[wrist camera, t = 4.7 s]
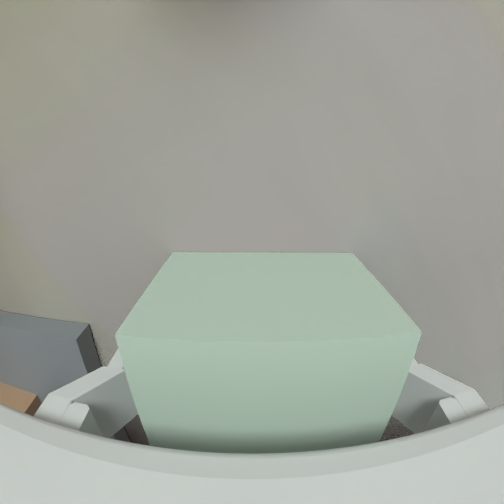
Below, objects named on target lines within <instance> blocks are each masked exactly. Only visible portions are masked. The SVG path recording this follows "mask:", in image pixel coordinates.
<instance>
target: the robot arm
mask: <svg viewBox="0 0 504 504" xmlns="http://www.w3.org/2000/svg"><path fill="white" fill-rule="evenodd" d="M137 415H138V412H137V409H136V406H135V403H134V400H133V397H132V394H131V391H130V387H129V384H128V381H127V378H126V374H125V371H124V367H123V364H122V360H121V356H120V353H119V349H117V351H116V352H115V354H114V356H113V357H112V359H111V361H110V362H109V364H108V366H107V367H106V366H102V367H100V368H98V369H97V370H95V371H93V372H91V373H89V374H87V375H85V376H83V377H81V378H79V379H77V380H75V381H73V382H71V383H69V384H67V385H65V386H63V387H61V388H59V389H57V390H55V391H53V392H51V393H49V394H48V395H47V397H46V398H45V400H44V401H43V403H42V404H41V406H40V407H39V409H38V410H37V412H36V413H35V415H34V416H31V415H29V414H26V413H23V412H21V411H18V410H16V409H13V408H11V407H9V406H6V405H4V404H1V403H0V504H504V404H502V405H500V406H497V407H495V408H492V409H489V408H488V407H487V405H486V404H485V403H484V401H483V400H482V399H481V397H480V396H479V394H478V393H477V392H476V390H475V389H473V388H471V387H469V386H467V385H464V384H462V383H460V382H458V381H456V380H454V379H452V378H450V377H448V376H446V375H444V374H442V373H440V372H437V371H435V370H433V369H431V368H429V367H427V366H425V365H423V364H418V363H417V362H416V361H415V359H414V358H413V361H412V364H411V367H410V370H409V372H408V375H407V378H406V381H405V383H404V386H403V388H402V391H401V394H400V396H399V399H398V401H397V403H396V406H395V408H394V411H393V413H392V416H393V417H394V418H396V419H397V420H398V421H399V422H401V423H402V424H403V425H404V426H406V427H407V428H408V429H409V430H411V431H412V432H413V433H414V434H412V435H408V436H404V437H400V438H395V439H390V440H386V441H380V442H375V443H370V444H364V445H358V446H351V447H344V448H336V449H327V450H317V451H306V452H291V453H261V454H244V453H215V452H200V451H188V450H179V449H170V448H162V447H155V446H149V445H142V444H136V443H131V442H126V441H121V440H116V439H111V438H110V437H111V436H113V435H114V434H115V433H116V432H118V431H119V430H120V429H121V428H122V427H124V426H125V425H126V424H127V423H128V422H129V421H131V420H132V419H133V418H134V417H135V416H137Z"/></svg>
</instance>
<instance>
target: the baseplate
mask: <svg viewBox="0 0 504 504" xmlns="http://www.w3.org/2000/svg"><path fill="white" fill-rule="evenodd" d="M100 367H101V364H100V361H99V358H98V354H97V351H96V348H95V344H94V341H93V337H92V334H91V330H90V326H89V324H85V323H77V322H69V321H61V320H54V319H47V318H40V317H34V316H28V315H22V314H16V313H10V312H5V311H0V403H1V404H4V405H6V406H9V407H11V408H13V409H16V410H18V411H21V412H23V413H26V414H29V415H31V416H34V415H35V413H36V412H37V410H38V409H39V407H40V406H41V404H42V403H43V401H44V400H45V398H46V397H47V395H48V394H49V393H51V392H53V391H55V390H57V389H59V388H61V387H63V386H65V385H67V384H69V383H71V382H73V381H75V380H77V379H79V378H81V377H83V376H85V375H87V374H89V373H91V372H93V371H95V370H97V369H98V368H100ZM110 438H111V439H116V440H121V441H126V442H130V440H129V438H128V435H127V433H126V431H125V428H124V427H122V428H121V429H120V430H119V431H118V432H116V433H115V434H114V435H113V436H111V437H110Z"/></svg>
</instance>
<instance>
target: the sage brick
mask: <svg viewBox="0 0 504 504" xmlns="http://www.w3.org/2000/svg"><path fill="white" fill-rule="evenodd" d="M421 333H422V332H421V330H420V329H419V328H418V327H417V326H416V324H415V323H414V322H413V321H412V320H411V318H410V317H409V316H408V315H407V314H406V313H405V311H404V310H403V309H402V308H401V307H400V306H399V304H398V303H397V302H396V301H395V300H394V299H393V297H392V296H391V295H390V294H389V293H388V292H387V291H386V289H385V288H384V287H383V286H382V285H381V284H380V283H379V282H378V281H377V279H376V278H375V277H374V276H373V275H372V274H371V273H370V272H369V271H368V269H367V268H366V267H365V266H364V265H363V264H362V263H361V262H360V261H359V260H358V259H357V258H356V256H355V255H354V254H353V253H269V252H173V253H172V254H171V256H170V257H169V258H168V260H167V261H166V262H165V264H164V265H163V266H162V268H161V269H160V271H159V272H158V273H157V275H156V276H155V277H154V279H153V280H152V282H151V283H150V284H149V286H148V287H147V289H146V290H145V292H144V293H143V294H142V296H141V297H140V299H139V300H138V302H137V303H136V304H135V306H134V307H133V309H132V310H131V312H130V313H129V315H128V316H127V317H126V319H125V320H124V322H123V323H122V325H121V326H120V328H119V329H118V331H117V332H116V334H115V337H116V341H117V345H118V349H119V353H120V356H121V360H122V364H123V367H124V371H125V374H126V378H127V381H128V384H129V387H130V391H131V394H132V397H133V400H134V403H135V406H136V409H137V412H138V415H139V417H140V420H141V423H142V426H143V428H144V431H145V434H146V436H147V439H148V441H149V444H150V446H155V447H162V448H170V449H179V450H188V451H200V452H215V453H244V454H261V453H291V452H306V451H317V450H327V449H336V448H344V447H351V446H358V445H364V444H370V443H375V442H379V441H380V439H381V437H382V435H383V433H384V431H385V429H386V426H387V424H388V422H389V420H390V417H391V415H392V413H393V411H394V408H395V406H396V403H397V401H398V399H399V396H400V394H401V391H402V388H403V386H404V383H405V381H406V378H407V375H408V372H409V370H410V367H411V364H412V361H413V358H414V355H415V352H416V349H417V346H418V343H419V340H420V336H421Z"/></svg>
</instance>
